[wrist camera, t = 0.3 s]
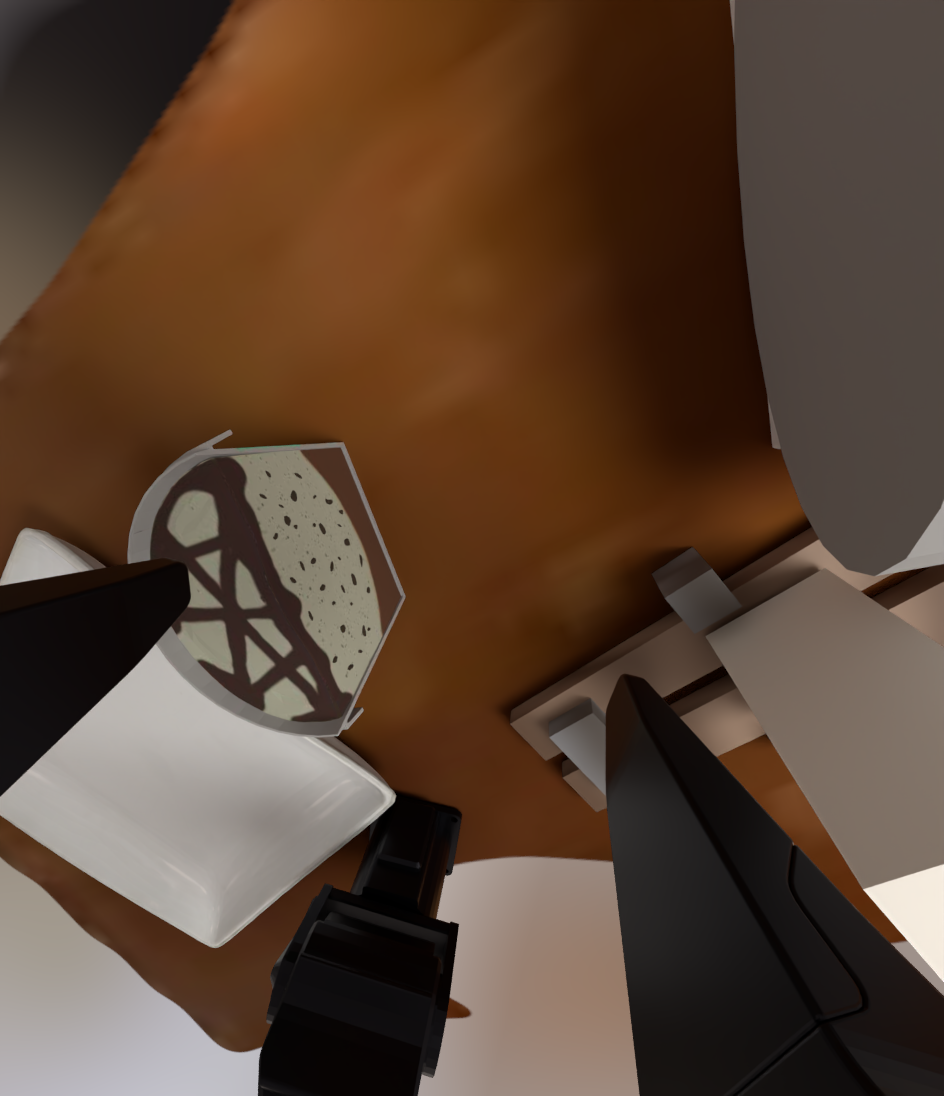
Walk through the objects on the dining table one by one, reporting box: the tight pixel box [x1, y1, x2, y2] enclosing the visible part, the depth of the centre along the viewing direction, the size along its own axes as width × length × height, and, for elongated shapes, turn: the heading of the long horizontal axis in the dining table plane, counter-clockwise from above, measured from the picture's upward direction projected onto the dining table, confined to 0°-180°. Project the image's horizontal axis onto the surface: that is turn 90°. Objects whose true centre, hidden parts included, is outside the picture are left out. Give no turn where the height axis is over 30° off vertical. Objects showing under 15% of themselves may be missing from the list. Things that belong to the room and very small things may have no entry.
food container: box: [127, 430, 406, 737], centre depth 21 cm, size 12×6×10 cm, turn 18°
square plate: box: [0, 528, 396, 948], centre depth 32 cm, size 27×27×4 cm
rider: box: [706, 568, 944, 982], centre depth 17 cm, size 6×6×13 cm
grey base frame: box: [510, 527, 944, 812], centre depth 22 cm, size 26×13×3 cm, turn 132°
